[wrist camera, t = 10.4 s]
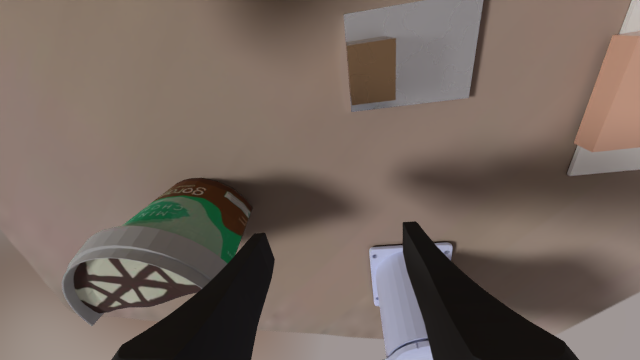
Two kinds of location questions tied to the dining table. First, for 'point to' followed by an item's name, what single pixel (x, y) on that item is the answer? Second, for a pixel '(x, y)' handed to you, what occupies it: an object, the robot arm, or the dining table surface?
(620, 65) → the tile
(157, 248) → the food container
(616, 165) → the mat
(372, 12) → the turner
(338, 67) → the dining table surface
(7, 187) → the dining table surface
